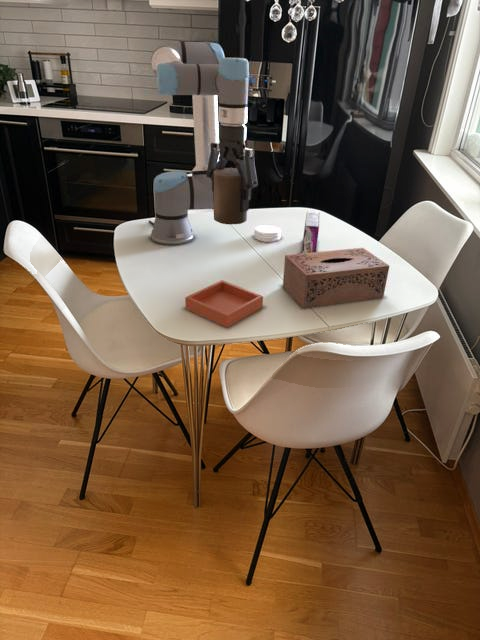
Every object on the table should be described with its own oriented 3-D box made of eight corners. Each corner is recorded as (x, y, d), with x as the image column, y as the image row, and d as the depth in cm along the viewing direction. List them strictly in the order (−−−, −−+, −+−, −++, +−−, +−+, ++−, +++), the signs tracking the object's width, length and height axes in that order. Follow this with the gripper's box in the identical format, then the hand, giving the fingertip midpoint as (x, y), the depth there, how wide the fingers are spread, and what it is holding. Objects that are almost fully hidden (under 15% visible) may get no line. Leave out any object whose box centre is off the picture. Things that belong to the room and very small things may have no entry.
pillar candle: (240, 226, 136) (242, 172, 128) (208, 222, 138) (208, 168, 131) (251, 216, 144) (253, 165, 136) (220, 212, 146) (221, 161, 139)
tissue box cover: (302, 308, 134) (306, 275, 129) (282, 286, 146) (285, 255, 141) (383, 297, 141) (389, 265, 136) (357, 277, 153) (362, 247, 148)
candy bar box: (300, 256, 167) (303, 240, 181) (315, 257, 166) (316, 241, 181) (304, 224, 161) (306, 211, 176) (319, 226, 161) (320, 212, 175)
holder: (185, 308, 132) (185, 297, 130) (221, 290, 142) (222, 280, 140) (227, 327, 123) (227, 315, 122) (262, 307, 134) (263, 296, 132)
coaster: (261, 243, 176) (261, 234, 175) (249, 234, 184) (250, 225, 183) (285, 240, 180) (285, 231, 178) (273, 231, 188) (273, 223, 186)
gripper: (192, 120, 131) (193, 201, 143) (257, 131, 119) (252, 218, 131) (211, 117, 136) (210, 196, 148) (274, 128, 125) (269, 212, 136)
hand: (230, 207), depth 139 cm, fingers closed on pillar candle, 10 cm apart
